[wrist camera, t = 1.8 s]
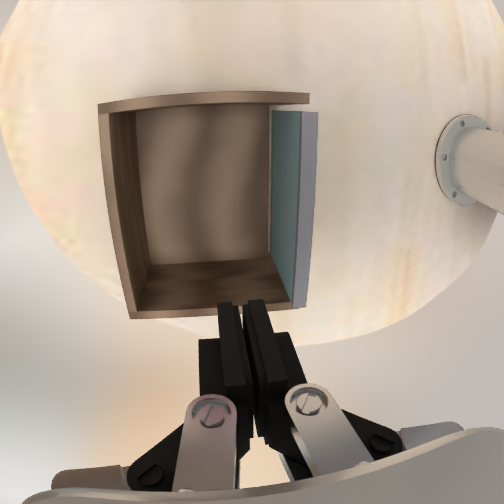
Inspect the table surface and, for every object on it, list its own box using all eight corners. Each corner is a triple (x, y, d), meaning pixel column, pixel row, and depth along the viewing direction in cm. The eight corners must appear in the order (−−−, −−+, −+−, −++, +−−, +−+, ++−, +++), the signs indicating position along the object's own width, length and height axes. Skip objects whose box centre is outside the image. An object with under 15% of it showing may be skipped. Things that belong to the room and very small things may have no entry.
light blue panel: (282, 110, 29) (318, 112, 19) (279, 252, 35) (305, 307, 26) (271, 110, 29) (302, 111, 19) (269, 252, 35) (292, 308, 26)
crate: (279, 97, 29) (309, 93, 20) (276, 258, 37) (298, 308, 28) (130, 104, 28) (97, 104, 19) (146, 266, 35) (130, 319, 26)
